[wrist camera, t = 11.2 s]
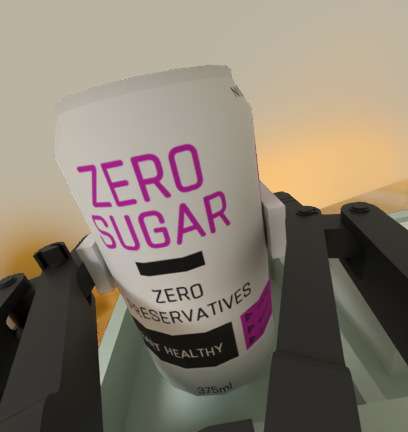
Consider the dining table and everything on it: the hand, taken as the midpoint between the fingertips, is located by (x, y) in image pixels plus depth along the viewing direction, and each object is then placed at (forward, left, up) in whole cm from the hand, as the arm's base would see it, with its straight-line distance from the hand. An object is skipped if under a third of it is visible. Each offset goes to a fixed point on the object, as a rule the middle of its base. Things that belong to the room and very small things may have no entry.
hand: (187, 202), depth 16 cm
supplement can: (0, -5, -8) cm, 9 cm away
